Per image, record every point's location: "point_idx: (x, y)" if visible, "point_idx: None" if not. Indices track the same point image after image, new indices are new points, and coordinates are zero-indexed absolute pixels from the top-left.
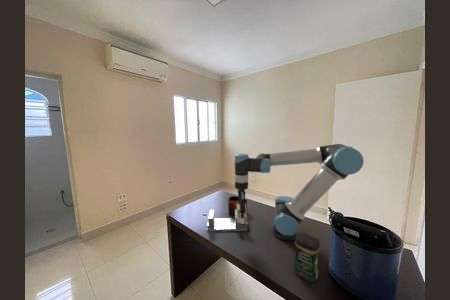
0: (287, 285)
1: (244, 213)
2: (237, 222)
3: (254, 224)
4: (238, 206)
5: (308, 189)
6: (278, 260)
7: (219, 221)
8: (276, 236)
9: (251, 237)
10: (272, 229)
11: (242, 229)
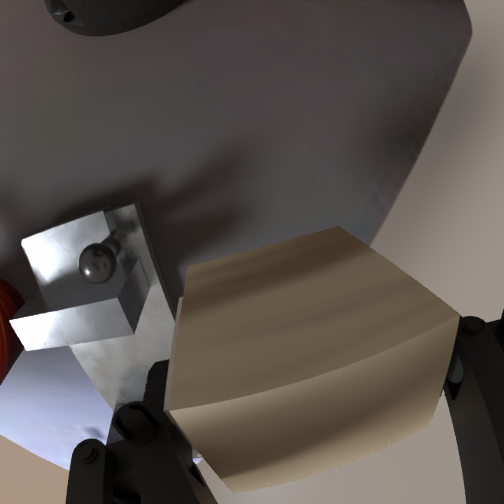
0: (460, 43)
1: None
2: (136, 295)
3: (55, 164)
4: (332, 460)
5: None
6: (372, 26)
7: (123, 382)
8: (177, 2)
9: (207, 160)
10: (124, 21)
11: (145, 237)
